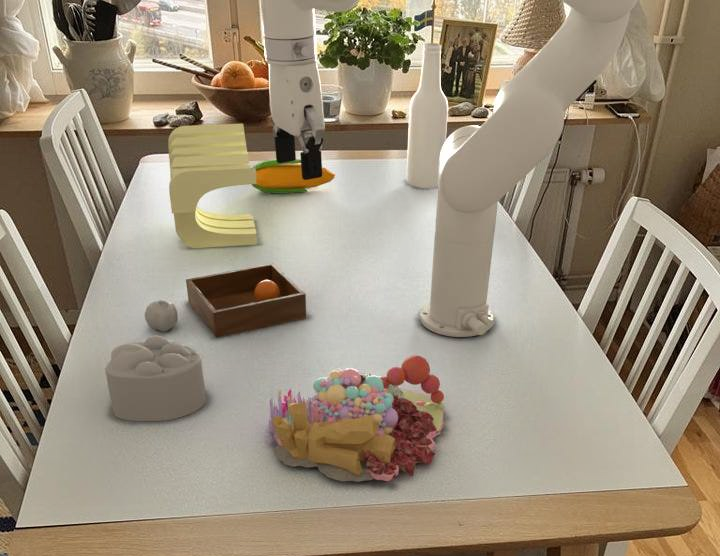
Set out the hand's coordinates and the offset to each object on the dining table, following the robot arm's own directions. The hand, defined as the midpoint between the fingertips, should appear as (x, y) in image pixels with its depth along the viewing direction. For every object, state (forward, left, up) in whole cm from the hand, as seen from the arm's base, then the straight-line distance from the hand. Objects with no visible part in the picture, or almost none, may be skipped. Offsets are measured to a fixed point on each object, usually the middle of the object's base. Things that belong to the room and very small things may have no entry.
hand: (298, 169), depth 133 cm
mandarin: (+5, +5, -22) cm, 23 cm away
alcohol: (+51, -54, -25) cm, 78 cm away
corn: (+59, -23, -25) cm, 68 cm away
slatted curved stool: (+41, +2, -25) cm, 48 cm away
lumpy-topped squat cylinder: (-17, +31, -25) cm, 43 cm away
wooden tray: (+5, +9, -25) cm, 27 cm away
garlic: (+5, +23, -25) cm, 35 cm away
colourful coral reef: (-37, +9, -25) cm, 46 cm away
